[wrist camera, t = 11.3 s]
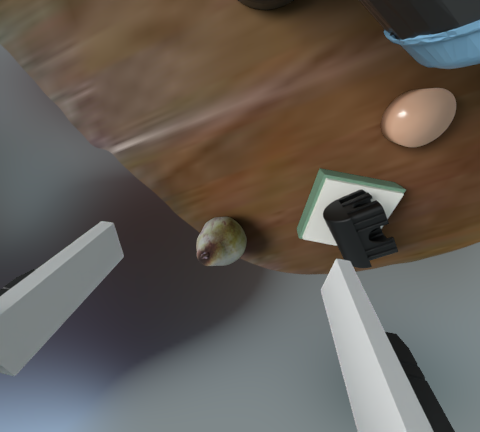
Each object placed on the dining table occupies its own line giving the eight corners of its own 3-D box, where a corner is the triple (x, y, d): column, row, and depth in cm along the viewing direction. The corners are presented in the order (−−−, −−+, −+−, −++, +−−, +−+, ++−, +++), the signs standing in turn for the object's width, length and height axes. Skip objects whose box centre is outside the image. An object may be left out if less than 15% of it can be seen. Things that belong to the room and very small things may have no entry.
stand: (319, 168, 34) (325, 176, 30) (394, 182, 33) (409, 191, 30) (296, 228, 40) (299, 240, 37) (359, 240, 40) (367, 254, 37)
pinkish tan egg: (396, 84, 27) (412, 83, 24) (447, 93, 27) (470, 93, 24) (371, 138, 30) (382, 142, 28) (416, 146, 30) (432, 151, 27)
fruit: (218, 200, 39) (201, 235, 29) (257, 223, 41) (254, 264, 31) (198, 233, 44) (177, 273, 34) (233, 252, 46) (223, 296, 36)
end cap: (317, 205, 33) (328, 227, 27) (362, 185, 30) (384, 205, 24) (338, 246, 37) (351, 273, 31) (379, 231, 34) (402, 258, 28)
